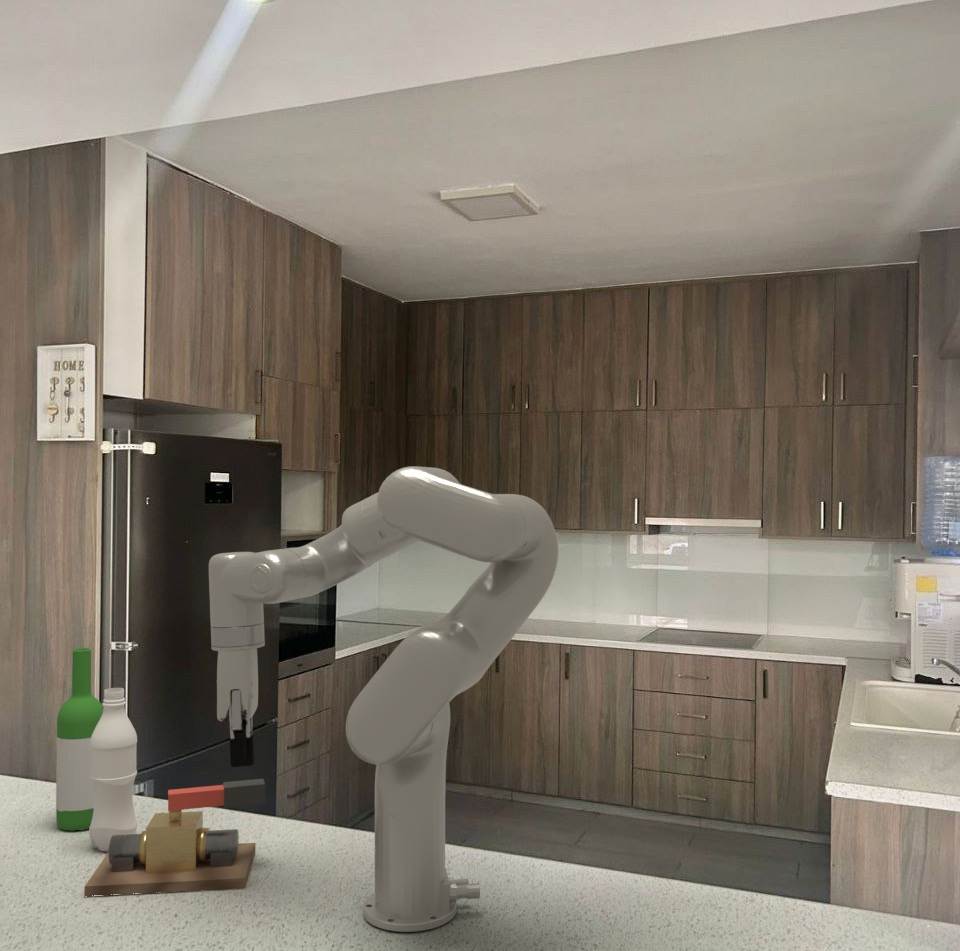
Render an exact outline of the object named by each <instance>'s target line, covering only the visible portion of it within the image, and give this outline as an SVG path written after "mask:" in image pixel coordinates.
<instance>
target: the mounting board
mask: <svg viewBox="0 0 960 951" xmlns="http://www.w3.org/2000/svg"><path fill="white" fill-rule="evenodd" d="M255 856H256V842H250V843H249V842H247V843H246V842H244V843H238V854H237V858H234V860H233V863H232V866H223V867H211V859H208V861H207V862H199V864H198V866H197V868H196V870H195V871H175V872H156V873H146V865H140V863H138V864H137V866H136V867H135V869H134V871H125V872H112V864H110V862H109V851H107V854H106V855H105V856H104V858H103V860H101V862H100V864H99V865H98V866H97V867H96V869H95V871H94V872H93V874H92V875H91V877H89V880H88V881H87V882H86V884H85V885H84V898H86V897H85V896H92V895H93V896H94V895H111V894H112V895H113V894H133V893H134V894H135V893H154V894H159V893H158V892H173V893H181V892H180V891H191V892H202V891H201V890H210V891H225V890H245V889H246V887H247V883H248V879H249V876H250V872H251V869H252V866H251V865H253V862H254V859H255ZM253 858H254V859H253ZM244 888H245V889H244ZM177 891H179V892H177ZM156 892H157V893H156Z"/></svg>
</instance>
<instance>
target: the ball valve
mask: <svg viewBox="0 0 960 951" xmlns="http://www.w3.org/2000/svg"><path fill="white" fill-rule="evenodd" d="M203 816H204V812H203V810H202V811H201V810H200V811H182V814H181V818H179V819H169V812H157V813H154V815H153V816H152V818H151V819H150V821H149V823H148V824H147V826H146V828H145V830H143V831H141V833H135V834H125V835H113V836H112V837H111V840H110V845H109V851H108V852H109V862H110V864H112V872H125V871H134V869H135V867H136V866H137V864H138V863H140V865H146V873H156V872H175V871H195V870H196V868H197V866H198V864H199V862H207V861H208V859H211V867H223V866H232V863H233V860H234V858H237V854H238V844H239V839H240V838H239V829H238V828H237V829H234V828H233V829H217V830H216V829H215V830H213V829H211V830H210V828H209V827H204V826H203V825H204V824H203V822H204V820H203V819H204V817H203Z"/></svg>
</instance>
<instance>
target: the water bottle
mask: <svg viewBox="0 0 960 951" xmlns="http://www.w3.org/2000/svg"><path fill="white" fill-rule="evenodd" d="M124 696H125V689H124V688H123V687H111V688H106V689H104V691H103V697H104V698H103V702H102V703H101V704H102V706H103V708H104V709H103V714H102V716H101V718H100V720H99V722H98V724H97V726H96V727H95V730H94V732H93V734H92V736H91V740H90V747H91V771H90V778H91V782H92V786H93V793H94V810H93V817H92V821H91V825H90V828H89V829H88V832H89V840H90V842H91V844H92V846H93V847H94V848H95V847H98V848H97V849H98V850H99V851H101V850H102V851H101V852H109V845H110V840H111V837H112V836H113V835H125V834H136V832H137V828H138V821H137V817H136V815H135V810H134V802H133V801H134V800H133V798H134V797H133V795H134V792H133V791H134V786H135V780H136V777H137V774H138V770H137V755H138V754H137V743H138V735H137V732H136V729H135V727H134V726H133V723H132V722H131V720H130V718H129V717H128V715H127V712H126V708H125V705H126V704H127V702H126V699H125V697H124Z"/></svg>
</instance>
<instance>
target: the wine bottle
mask: <svg viewBox="0 0 960 951" xmlns="http://www.w3.org/2000/svg"><path fill="white" fill-rule="evenodd" d="M71 664H72V673H71V674H72V675H71V678H72V679H71V680H72V681H71V684H72V686H71V695H70V697H69V698H68V699H67V700H66V701H65V702H64V703H63V704H62V705H61V707H60V709H59V711H58V714H57V717H56V718H57V719H56V770H55V771H56V773H55V774H56V775H55V776H56V788H55V791H56V794H55V795H56V796H55V799H56V800H55V802H56V804H55V806H56V808H55V809H56V810H55V811H56V814H55V816H56V817H55V820H56V825H57V827H58V828H59V829H61V830H64V831H68V830H69V831H70V832H72V831H73V832H76V831H75V830H79V831H83V830H84V829H86V830H89V829H88V828H90V825H91V821H92V817H93V810H94V793H93V786H92V782H91V778H90V771H91V747H90V740H91V736H92V734H93V732H94V730H95V727H96V726H97V724H98V722H99V720H100V718H101V716H102V714H103V709H104V706H102V703H101V701H100V700H99V699H98V698H96V697H95V696H94V695H93V694H92V650H91V648H90V647H77V648H74V649H72V663H71ZM69 831H68V832H69Z"/></svg>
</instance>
